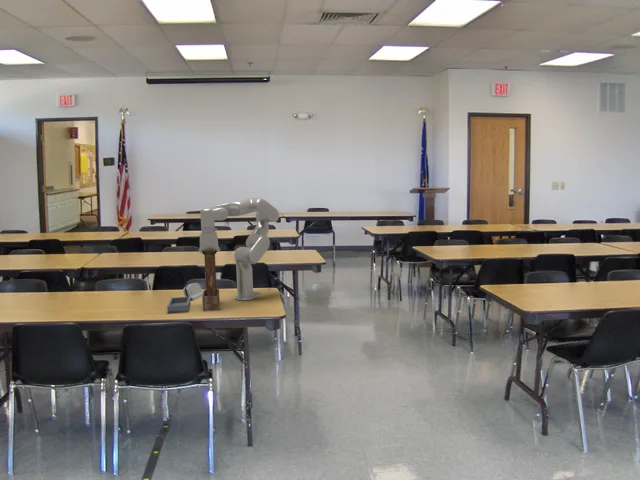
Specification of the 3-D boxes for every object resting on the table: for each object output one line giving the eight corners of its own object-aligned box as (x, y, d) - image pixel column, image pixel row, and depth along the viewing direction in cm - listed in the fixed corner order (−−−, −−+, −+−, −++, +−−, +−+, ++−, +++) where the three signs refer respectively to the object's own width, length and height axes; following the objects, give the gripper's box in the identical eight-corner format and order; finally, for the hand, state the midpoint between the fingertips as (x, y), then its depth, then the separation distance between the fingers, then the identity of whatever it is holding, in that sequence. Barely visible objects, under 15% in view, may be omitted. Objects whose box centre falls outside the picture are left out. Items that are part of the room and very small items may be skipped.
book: (217, 296, 307) (214, 252, 304) (207, 297, 306) (204, 253, 303) (215, 290, 323) (213, 248, 320) (206, 291, 322) (204, 249, 319)
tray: (190, 303, 324) (190, 296, 323) (188, 312, 302) (187, 305, 302) (171, 304, 322) (170, 297, 321) (167, 313, 300) (167, 306, 300)
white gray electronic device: (193, 300, 331) (187, 285, 330) (186, 303, 332) (180, 287, 332) (205, 294, 347) (200, 280, 346) (199, 297, 348) (194, 282, 348)
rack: (219, 301, 326) (219, 288, 325) (219, 309, 306) (218, 295, 305) (204, 302, 325) (203, 289, 324) (203, 310, 304) (202, 296, 303)
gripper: (222, 229, 315) (224, 260, 318) (194, 230, 313) (196, 262, 315) (222, 230, 308) (224, 262, 310) (193, 231, 305) (195, 264, 307)
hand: (210, 262), depth 312 cm, fingers closed on book
